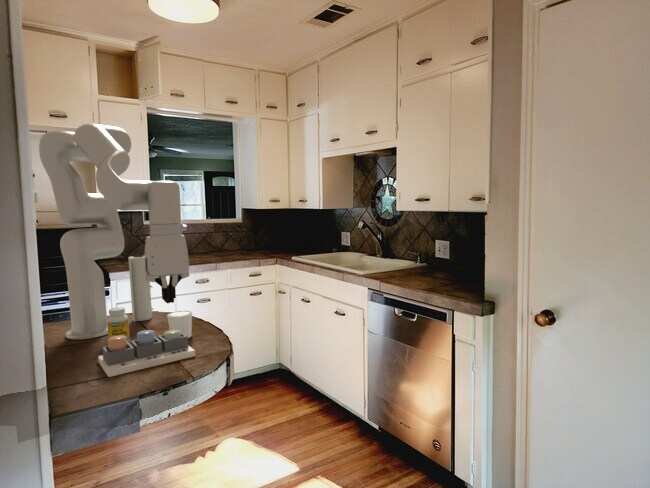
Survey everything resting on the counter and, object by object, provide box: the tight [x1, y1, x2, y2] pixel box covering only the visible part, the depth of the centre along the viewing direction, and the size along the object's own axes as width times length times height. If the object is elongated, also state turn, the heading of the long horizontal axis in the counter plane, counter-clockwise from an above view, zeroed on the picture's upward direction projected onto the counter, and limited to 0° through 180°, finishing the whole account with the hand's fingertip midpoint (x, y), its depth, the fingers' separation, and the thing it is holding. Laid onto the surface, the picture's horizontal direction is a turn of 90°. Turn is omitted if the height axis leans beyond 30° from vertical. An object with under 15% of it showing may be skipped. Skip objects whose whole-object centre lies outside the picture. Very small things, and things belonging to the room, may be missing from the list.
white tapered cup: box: [166, 310, 193, 339], centre depth 124 cm, size 7×7×7 cm
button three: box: [163, 330, 181, 340], centre depth 111 cm, size 4×4×4 cm
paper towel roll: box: [127, 255, 153, 323], centre depth 143 cm, size 7×6×21 cm
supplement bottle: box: [107, 306, 131, 343], centre depth 121 cm, size 5×5×10 cm
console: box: [97, 332, 196, 378], centre depth 107 cm, size 12×20×4 cm, turn 127°
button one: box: [107, 335, 127, 352], centre depth 103 cm, size 4×4×4 cm
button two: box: [136, 329, 156, 346], centre depth 107 cm, size 4×4×4 cm
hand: (169, 301), depth 110 cm, fingers closed
